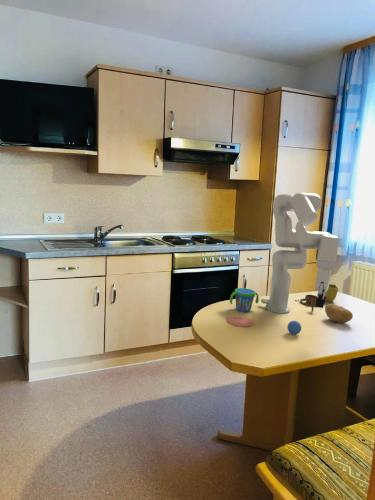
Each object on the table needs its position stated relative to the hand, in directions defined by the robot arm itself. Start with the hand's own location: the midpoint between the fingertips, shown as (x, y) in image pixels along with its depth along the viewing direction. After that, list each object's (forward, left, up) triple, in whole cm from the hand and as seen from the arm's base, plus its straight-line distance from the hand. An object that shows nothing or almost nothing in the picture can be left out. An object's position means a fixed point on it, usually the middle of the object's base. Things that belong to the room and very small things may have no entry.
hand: (320, 305), depth 176 cm
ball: (-10, 0, -12) cm, 16 cm away
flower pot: (-3, +66, -16) cm, 68 cm away
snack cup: (-39, +18, -16) cm, 45 cm away
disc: (-35, 0, -15) cm, 38 cm away
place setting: (-11, +49, -16) cm, 53 cm away
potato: (+6, +30, -16) cm, 34 cm away
